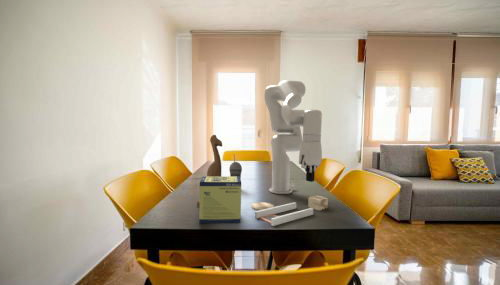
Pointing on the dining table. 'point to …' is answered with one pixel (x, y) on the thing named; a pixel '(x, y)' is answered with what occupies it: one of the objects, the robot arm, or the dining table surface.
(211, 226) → the dining table surface
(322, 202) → the block
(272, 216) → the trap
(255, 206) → the coaster
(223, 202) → the protein box
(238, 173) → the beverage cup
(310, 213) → the channel
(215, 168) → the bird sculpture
